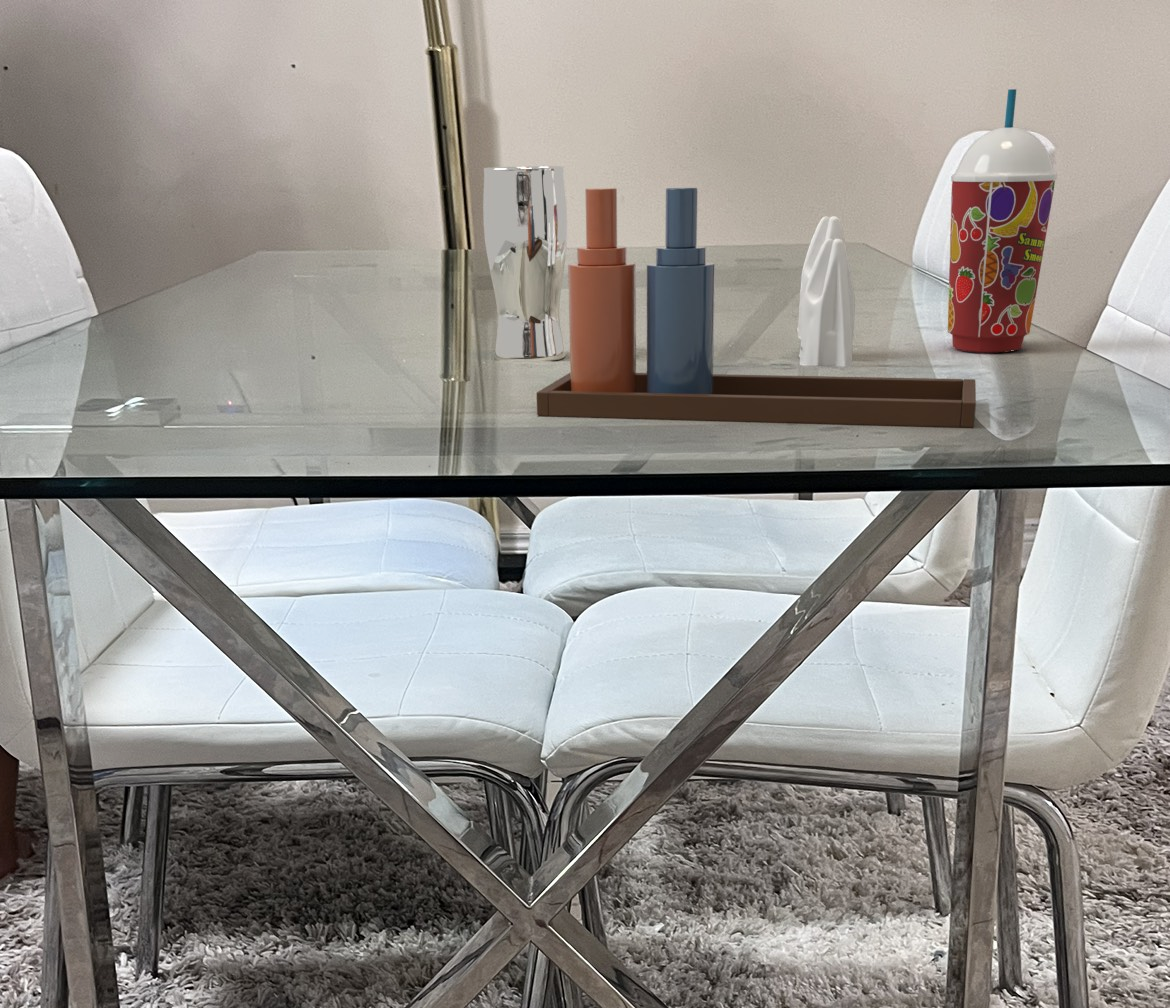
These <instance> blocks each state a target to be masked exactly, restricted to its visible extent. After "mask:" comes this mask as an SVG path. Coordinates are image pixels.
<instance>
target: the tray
mask: <svg viewBox="0 0 1170 1008" xmlns="http://www.w3.org/2000/svg"><path fill="white" fill-rule="evenodd" d="M976 384H977V383H976V379H975V378H973V379H971V378H964V379H963V378H931V377H929V378H928V377H927V378H926V377H925V378H924V377H879V376H877V377H873V376H872V377H871V376H828V375H827V376H826V375H825V376H824V375H778V374H777V375H772V374H727V373H726V374H724V373H723V374H722V373H721V374H719V373H713V394H673V393H647V372H636V393H629V392H586V391H571V375H570V372H569V373H567V374H565V375H563V376H562V377H560V378H559V379H557V380H555V381H554V382H552V383H550V384H548V385H547V386H545V387H544V388H542V389H540V390H538V391H537V392H536V415H537V417H539V418H540V417H541V418H570V419H571V418H573V419H574V418H577V419H611V420H613V419H614V420H615V419H616V420H644V421H645V420H650V421H683V422H685V421H686V422H717V423H720V422H721V423H725V422H726V423H755V424H760V423H761V424H763V423H764V424H791V425H792V424H793V425H794V424H795V425H798V424H799V425H834V426H863V427H865V426H867V427H868V426H869V427H898V428H899V427H902V428H906V427H907V428H939V429H941V428H943V429H946V428H947V429H974V426H975V416H976V407H977V389H976V388H977V387H976V386H977V385H976Z"/></svg>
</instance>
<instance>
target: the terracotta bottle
mask: <svg viewBox="0 0 1170 1008" xmlns="http://www.w3.org/2000/svg"><path fill="white" fill-rule="evenodd" d="M584 190H585V192H584V193H585V194H584V195H585V235H586V236H585V245H584V246H578V247H577V248H576V256H577V257H576V259H577V260H576V261H577V262H572V263H569V264H568V265H567V276H568V279H567V280H568V319H569V320H568V322H569V323H568V325H569V367H570V369H569V370H570V371H569V373H570V375H571V391H586V392H629V393H636V373H637V263H636V262H635V261H634V262H633V261H627V260H628V259H627V258H628V257H627V256H628V255H627V251H628V250H627V248H628V247H627V246H624V245H618V189H617V188H616V187H592V188H591V187H589V188H585V189H584Z"/></svg>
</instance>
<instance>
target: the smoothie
mask: <svg viewBox="0 0 1170 1008" xmlns="http://www.w3.org/2000/svg"><path fill="white" fill-rule="evenodd" d="M1016 97H1017V88H1012V89H1011V88H1010V89H1008V90H1007V98H1006V99H1007V100H1006V107H1005V118H1004V119H1005V120H1004V127H998V128H995V129H993V130H990V131H988V132H986V133H984V134H983V135H981V136H980V137H978V138H977V139H976V140H974V142H973V143H972V144H971V145H970V146H969V147H968V148H967V150H966V151H965V153H964V154H963V155H962V157H961V160H960V161H959V163H958V166H957V168H956V171H955V172H954V173H953V174H951V175H950V181H951V191H950V192H951V198H950V200H951V201H950V203H951V204H950V232H949V233H950V235H949V236H950V237H949V271H948V305H947V306H948V307H947V333H948V334H950V335H952V336H951V337H952V347H953V348H954V349H956V350H957V351H961V352H965V353H966V352H967V353H978V354H979V353H980V354H1000V353H999V352H1004V353H1006V352H1005V351H1011V350H1017V349H1019V350H1021V349H1022V346H1023V342H1024V339H1025V337H1026V336H1027V335H1030V333H1031V327H1032V321H1033V314H1034V309H1035V304H1036V298H1037V293H1038V286H1039V279H1040V275H1041V268H1042V261H1043V257H1044V256H1043V255H1044V251H1045V244H1046V238H1047V233H1048V227H1049V221H1050V215H1051V210H1052V203H1053V199H1054V198H1053V197H1054V191H1055V184H1056V181H1057V178H1058V173H1056V172H1055V171H1054V167H1053V162H1052V160H1051V157H1050V153H1049V151H1048V149H1047V148H1046V146H1045V145H1044V143H1043V142H1042V141H1041V140H1040V139H1039V138H1038V137H1037V136H1036V135H1035V134H1033V133H1031V132H1030V131H1028V130H1026V129H1023V128H1021V127H1017V126H1016V127H1014V119H1015V111H1016V110H1015V109H1016V108H1015V107H1016V99H1017V98H1016ZM1020 348H1021V349H1020ZM1017 351H1018V350H1017Z"/></svg>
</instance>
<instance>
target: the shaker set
mask: <svg viewBox="0 0 1170 1008" xmlns="http://www.w3.org/2000/svg"><path fill="white" fill-rule="evenodd" d="M847 250H848V249H847V243H846V239H845V234H844V229H843V225H842V221H841V219H840V218H839V217H838V216H835V215H833V216H827V215H825V216H823V217H821V219H820V220H819V222H818V223H817V226H816V228H815V231H814V233H813V235H812V238H811V240H810V243H809V246H808V249H807V252H806V255H805V258H804V262H803V266H802V269H801V276H800V289H799V291H800V292H799V306H798V323H797V327H796V332H797V338H798V339H799V340H800V348H799V349H800V350H799V353H798V357H799V365H800V366H802V367H803V366H804V367H841V368H849V367H853V349H854V335H855V334H854V333H855V317H856V295H855V289H854V288H855V287H854V284H853V278H852V272H851V267H850V260H849V256H848V255H849V254H848V251H847Z"/></svg>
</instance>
